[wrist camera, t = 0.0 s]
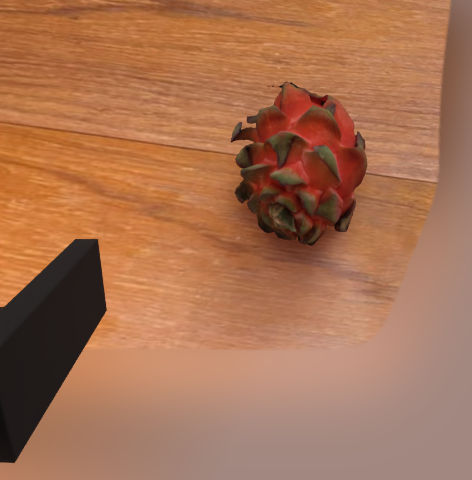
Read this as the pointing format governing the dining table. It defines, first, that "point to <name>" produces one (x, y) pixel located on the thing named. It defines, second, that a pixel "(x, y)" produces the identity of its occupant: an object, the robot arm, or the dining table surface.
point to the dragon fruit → (301, 165)
